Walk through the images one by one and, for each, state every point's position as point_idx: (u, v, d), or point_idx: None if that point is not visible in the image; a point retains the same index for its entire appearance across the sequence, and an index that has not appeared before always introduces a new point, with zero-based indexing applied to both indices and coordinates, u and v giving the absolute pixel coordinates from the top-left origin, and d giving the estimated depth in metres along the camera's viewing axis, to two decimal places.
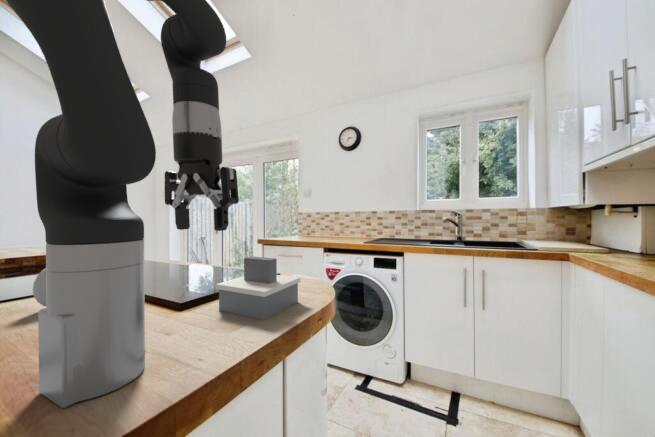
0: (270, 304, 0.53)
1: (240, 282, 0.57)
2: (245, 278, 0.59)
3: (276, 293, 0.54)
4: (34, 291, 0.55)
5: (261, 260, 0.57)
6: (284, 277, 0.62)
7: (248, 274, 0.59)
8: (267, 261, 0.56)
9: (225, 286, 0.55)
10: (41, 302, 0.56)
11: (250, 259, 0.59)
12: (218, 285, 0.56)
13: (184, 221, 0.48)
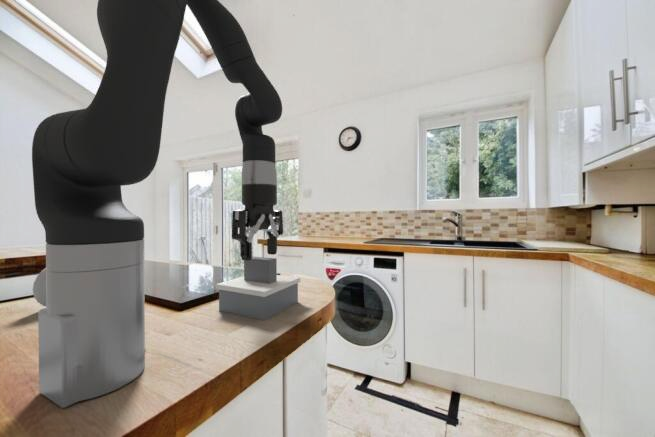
0: (270, 304, 0.53)
1: (240, 282, 0.57)
2: (245, 278, 0.59)
3: (276, 293, 0.54)
4: (34, 291, 0.55)
5: (261, 260, 0.57)
6: (284, 277, 0.62)
7: (248, 274, 0.59)
8: (267, 261, 0.56)
9: (225, 286, 0.55)
10: (41, 302, 0.56)
11: None
12: (218, 285, 0.56)
13: None
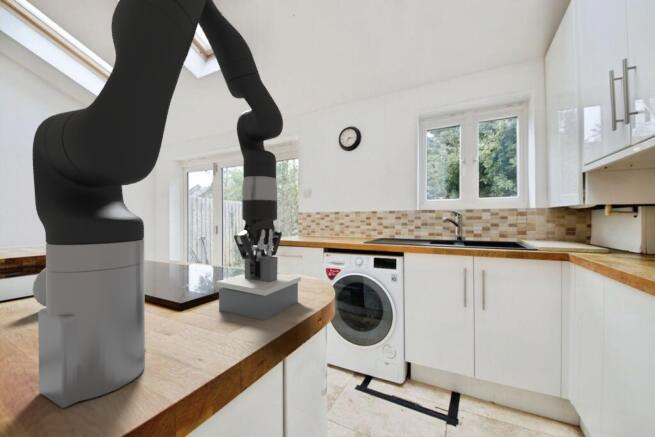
0: (270, 304, 0.53)
1: (240, 280, 0.57)
2: (246, 276, 0.59)
3: (276, 293, 0.54)
4: (34, 291, 0.55)
5: (262, 258, 0.57)
6: (285, 276, 0.62)
7: (248, 271, 0.59)
8: (268, 260, 0.56)
9: (225, 284, 0.55)
10: (41, 302, 0.56)
11: None
12: (218, 282, 0.56)
13: None
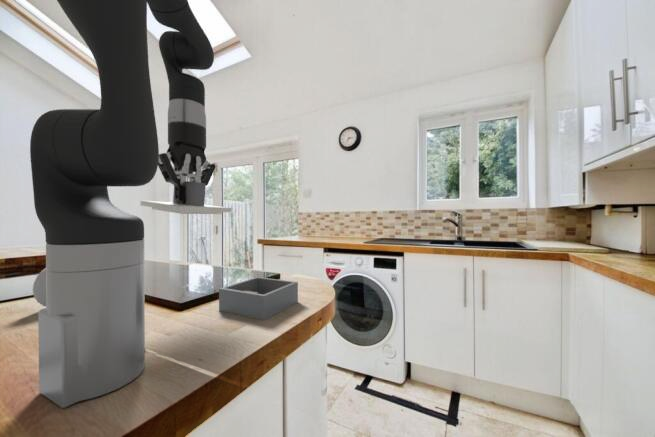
0: (270, 304, 0.53)
1: (166, 202, 0.57)
2: (174, 201, 0.59)
3: (276, 293, 0.54)
4: (34, 291, 0.55)
5: (188, 182, 0.57)
6: (216, 206, 0.62)
7: None
8: (193, 183, 0.56)
9: (148, 202, 0.55)
10: (41, 302, 0.56)
11: None
12: (142, 201, 0.56)
13: None
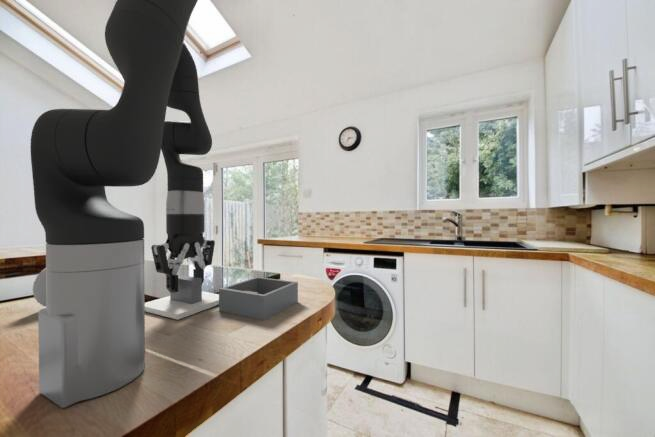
0: (270, 304, 0.53)
1: (164, 302, 0.58)
2: (171, 297, 0.59)
3: (276, 293, 0.54)
4: (34, 291, 0.55)
5: (184, 280, 0.57)
6: (213, 296, 0.62)
7: (173, 293, 0.59)
8: (190, 281, 0.57)
9: (145, 307, 0.55)
10: (41, 302, 0.56)
11: None
12: None
13: None
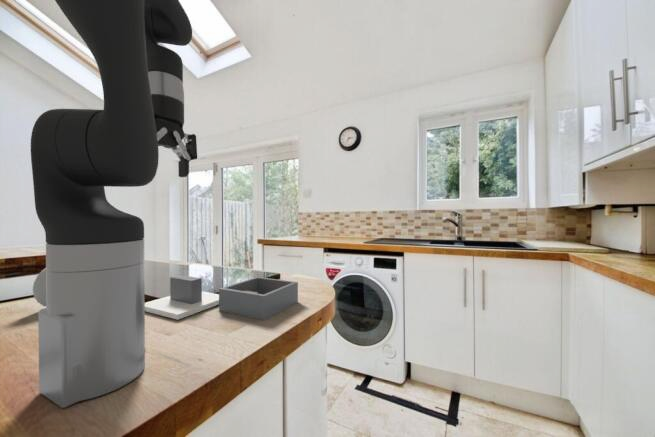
0: (270, 304, 0.53)
1: (164, 302, 0.58)
2: (171, 297, 0.59)
3: (276, 293, 0.54)
4: (34, 291, 0.55)
5: (184, 280, 0.57)
6: (213, 296, 0.62)
7: (173, 293, 0.59)
8: (190, 281, 0.57)
9: (145, 307, 0.55)
10: (41, 302, 0.56)
11: (175, 279, 0.59)
12: None
13: None
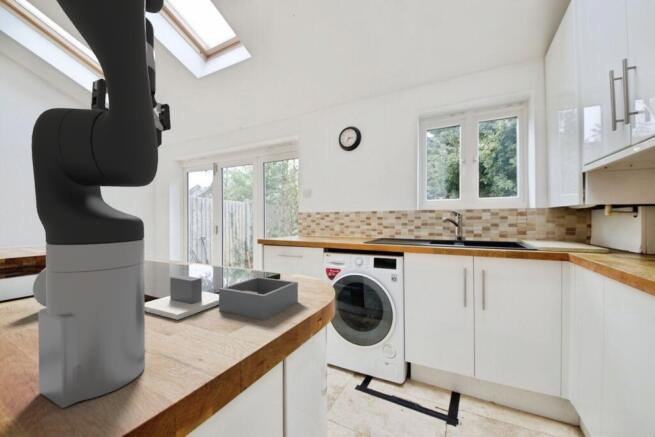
0: (270, 304, 0.53)
1: (164, 302, 0.58)
2: (171, 297, 0.59)
3: (276, 293, 0.54)
4: (34, 291, 0.55)
5: (184, 280, 0.57)
6: (213, 296, 0.62)
7: (173, 293, 0.59)
8: (190, 281, 0.57)
9: (145, 307, 0.55)
10: (41, 302, 0.56)
11: (175, 279, 0.59)
12: None
13: None
